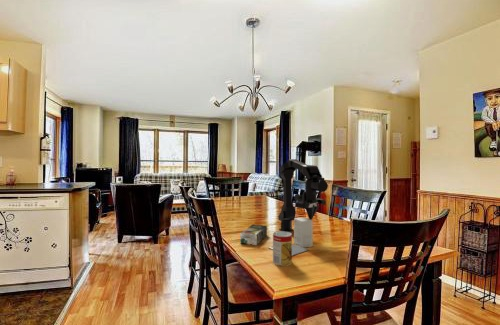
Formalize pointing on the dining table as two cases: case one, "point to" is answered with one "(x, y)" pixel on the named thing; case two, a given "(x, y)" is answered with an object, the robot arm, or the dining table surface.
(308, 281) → the dining table surface
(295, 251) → the mat
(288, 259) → the canned food
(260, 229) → the juice carton
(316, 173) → the robot arm
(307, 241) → the small box
